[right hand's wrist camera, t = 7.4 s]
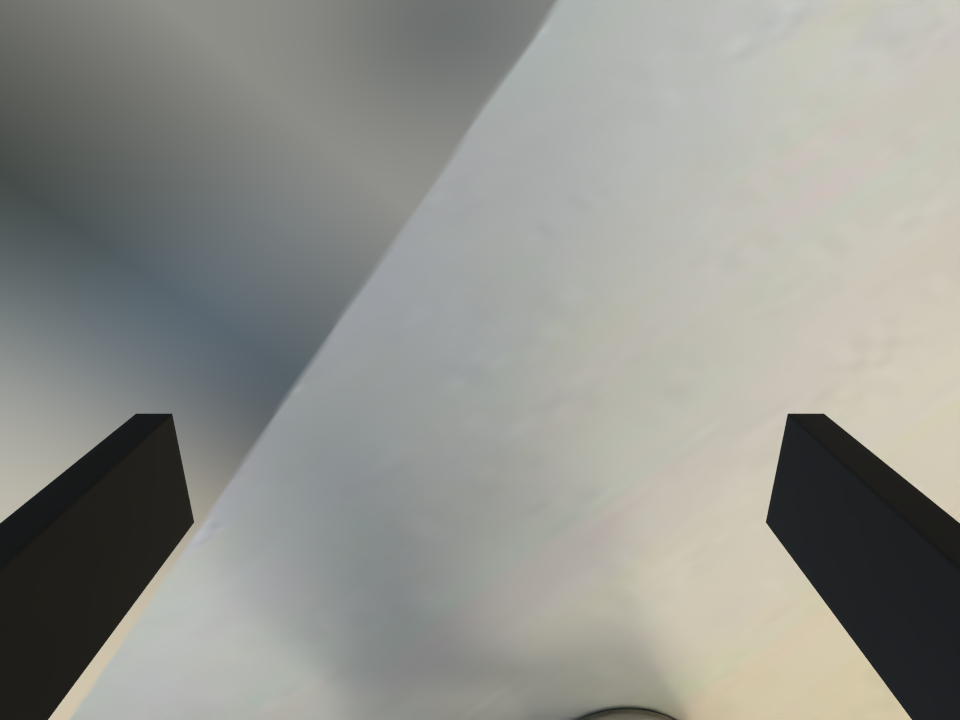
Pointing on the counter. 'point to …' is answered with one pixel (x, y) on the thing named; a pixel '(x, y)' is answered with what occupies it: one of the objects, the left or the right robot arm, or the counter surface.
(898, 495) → the right robot arm
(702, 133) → the counter surface
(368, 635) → the counter surface
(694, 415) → the counter surface
